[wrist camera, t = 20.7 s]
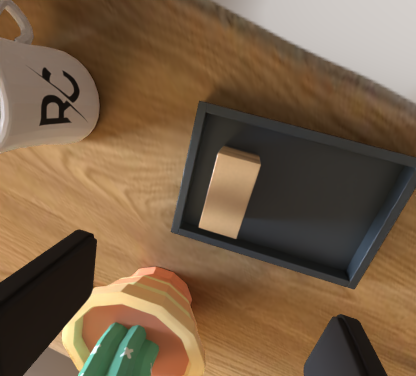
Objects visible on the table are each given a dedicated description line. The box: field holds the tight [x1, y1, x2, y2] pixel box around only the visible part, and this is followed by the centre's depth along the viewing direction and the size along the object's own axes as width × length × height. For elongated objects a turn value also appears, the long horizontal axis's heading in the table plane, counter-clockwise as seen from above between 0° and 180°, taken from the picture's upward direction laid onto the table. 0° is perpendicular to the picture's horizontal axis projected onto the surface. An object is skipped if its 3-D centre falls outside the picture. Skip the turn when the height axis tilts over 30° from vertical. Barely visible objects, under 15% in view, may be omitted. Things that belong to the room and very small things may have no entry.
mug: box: [0, 0, 100, 153], centre depth 19 cm, size 12×9×10 cm
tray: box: [171, 101, 416, 289], centre depth 23 cm, size 20×14×2 cm
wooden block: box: [199, 145, 261, 239], centre depth 22 cm, size 7×4×4 cm, turn 166°
